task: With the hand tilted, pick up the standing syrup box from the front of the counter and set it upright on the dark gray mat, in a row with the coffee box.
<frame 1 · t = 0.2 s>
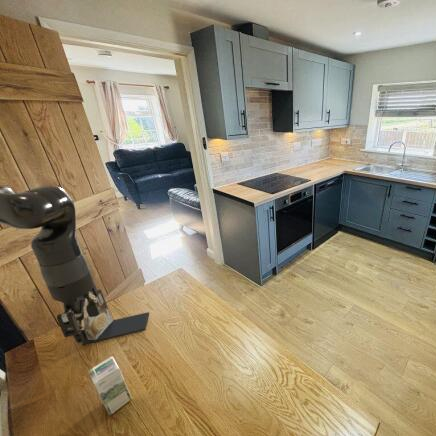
hand: (89, 327, 60), 27 cm above the table, tool pointing down, fingers open, 8 cm apart
syrup box: (118, 401, 69), on the table
dark gray mat: (118, 328, 92), on the table
coffee box: (97, 330, 91), resting on dark gray mat
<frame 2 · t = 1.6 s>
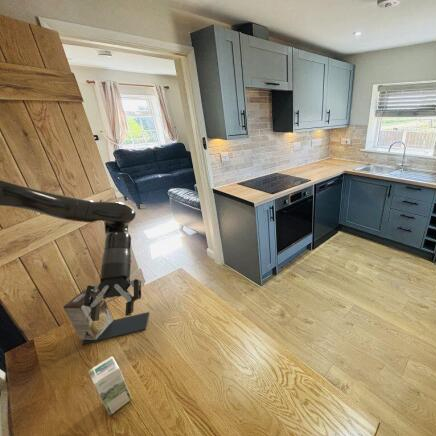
hand: (112, 318, 70), 21 cm above the table, tool tilted 45°, fingers open, 8 cm apart
nothing on the table moved.
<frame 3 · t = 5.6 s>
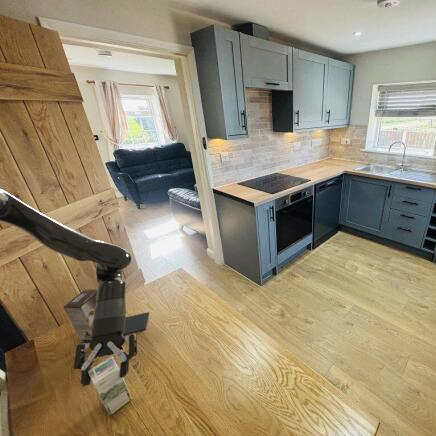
hand: (105, 381, 64), 11 cm above the table, tool tilted 45°, fingers closed on syrup box, 8 cm apart
syrup box: (118, 401, 69), on the table, touching gripper
everything else where it was.
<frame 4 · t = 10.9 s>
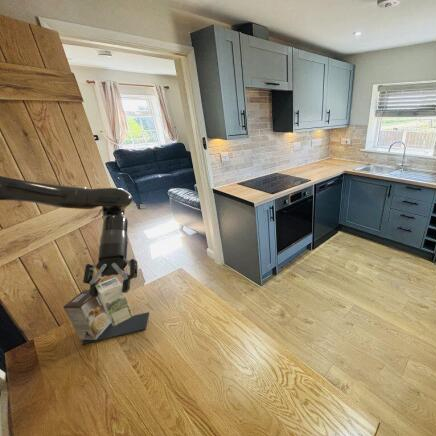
hand: (109, 294, 75), 25 cm above the table, tool tilted 45°, fingers closed on syrup box, 8 cm apart
syrup box: (121, 318, 80), point 13 cm above the table, touching gripper
everything else where it was.
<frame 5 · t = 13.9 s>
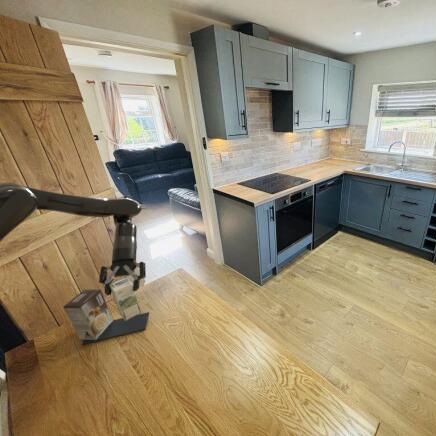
hand: (122, 292, 85), 18 cm above the table, tool tilted 45°, fingers closed on syrup box, 8 cm apart
syrup box: (131, 313, 91), point 6 cm above the table, touching gripper
everything else where it was.
when the fingers open (12 cm above the table, at t = 16.2 s): syrup box stays where it is, resting on dark gray mat.
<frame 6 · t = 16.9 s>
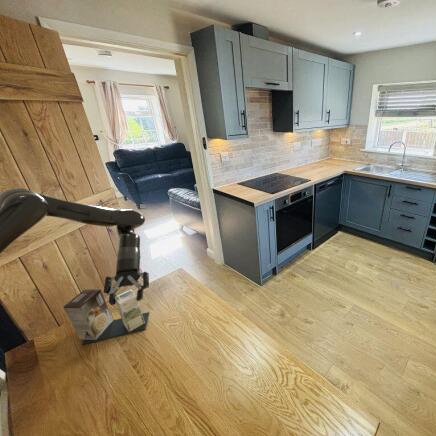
hand: (126, 302, 88), 13 cm above the table, tool tilted 45°, fingers open, 8 cm apart
syrup box: (134, 324, 93), resting on dark gray mat
everything else where it was.
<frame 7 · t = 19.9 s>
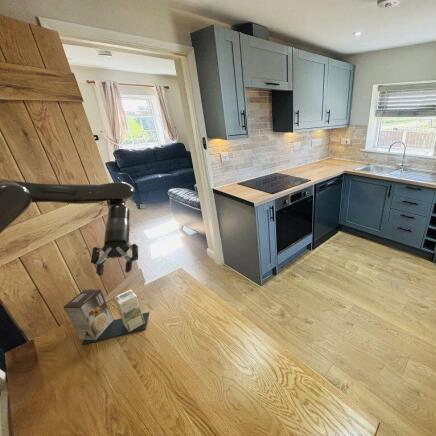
hand: (114, 273, 86), 23 cm above the table, tool tilted 45°, fingers open, 8 cm apart
nothing on the table moved.
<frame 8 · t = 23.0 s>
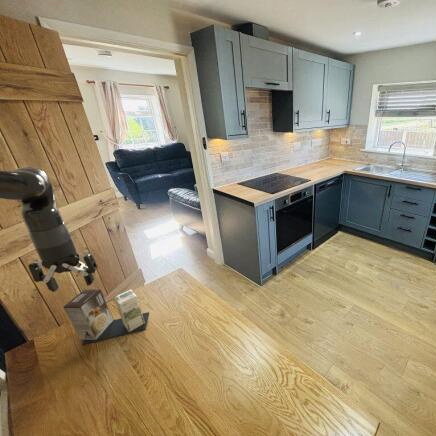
hand: (73, 286, 72), 28 cm above the table, tool pointing down, fingers open, 8 cm apart
nothing on the table moved.
at the end: syrup box inside the target area on the table beside the coffee box (0.4 cm from its centre), resting on dark gray mat; syrup box tilted 0°; coffee box moved 0.4 cm from its start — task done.
